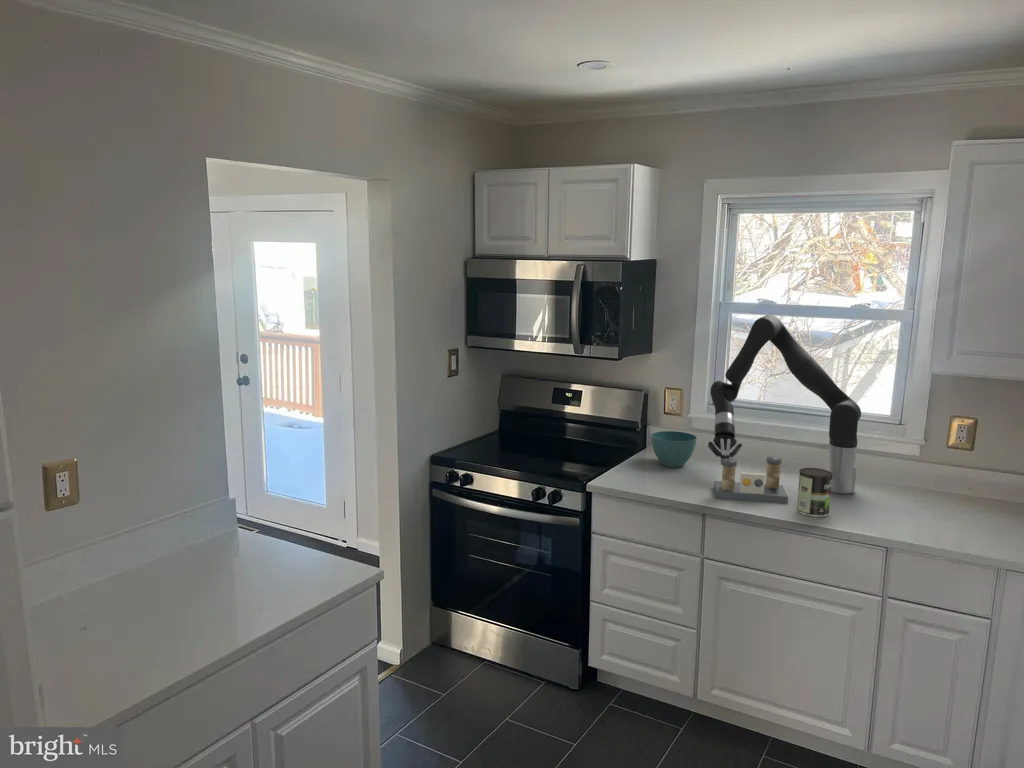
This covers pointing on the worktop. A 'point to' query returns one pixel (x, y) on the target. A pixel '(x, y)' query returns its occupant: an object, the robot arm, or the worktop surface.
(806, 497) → the coffee can
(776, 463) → the near knob
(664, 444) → the teal round bowl
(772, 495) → the slider board
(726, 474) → the far knob
